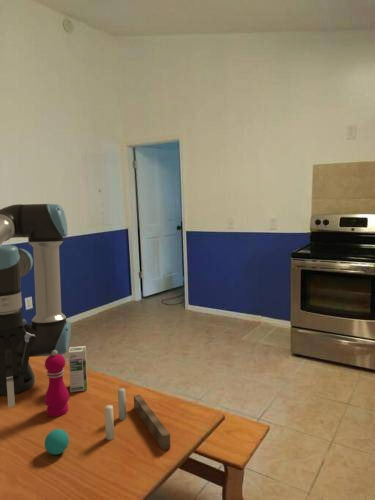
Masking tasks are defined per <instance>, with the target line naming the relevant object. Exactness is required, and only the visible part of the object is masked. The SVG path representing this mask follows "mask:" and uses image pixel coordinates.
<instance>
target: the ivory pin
mask: <svg viewBox="0 0 375 500" xmlns="http://www.w3.org/2000/svg"><path fill="white" fill-rule="evenodd" d="M104 420H105V422H104V423H105V439H106V440H107V441H112V440H114V438H115V427H114V424H115V423H114V405H112V404H107V405H105V406H104Z"/></svg>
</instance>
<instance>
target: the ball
mask: <svg viewBox="0 0 375 500" xmlns="http://www.w3.org/2000/svg"><path fill="white" fill-rule="evenodd" d="M69 442H70V438H69V435H68V433H67V432H66V431H65V430H64V429H62V428H57V429H53V430H51V431H50V432H49V433H47V435H46V437H45V438H44V448H45V450H46V452H47V453H49V454H50V455H54V456H56V455H61V454H62V453H64V452H65V450H66V449H67V448H68V446H69Z"/></svg>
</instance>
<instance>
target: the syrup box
mask: <svg viewBox="0 0 375 500" xmlns="http://www.w3.org/2000/svg"><path fill="white" fill-rule="evenodd" d="M68 368H69V369H68V370H69V371H68V372H69V390H70V391H69V392H70V393H75V392H76V393H77V392H82V391H85V392H87V391H88V373H87V369H88V368H87V348H86V345H81V346H79V345H78V346H68Z"/></svg>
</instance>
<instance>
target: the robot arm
mask: <svg viewBox="0 0 375 500" xmlns="http://www.w3.org/2000/svg"><path fill="white" fill-rule="evenodd" d="M67 223H68V222H67V218H66V214H65V210H64V209H63V207H62V206H61V205H59V204H55V203H54V204H53V203H34V204H33V203H32V204H29V203H28V204H27V203H26V204H25V203H24V204H20V203H19V204H12V205H9V206H5V207H3V208H1V209H0V396H7V406H8V407H7V408H9V409H10V408H14V407H15V406H16V401H15V400H16V399H15V398H16V397H15V395H16V394H19V393H22V392H24V391H27V390H29V389H30V388H32V387H33V386H34V385H35V383H36V376H35V373H34V371H33V368H32V366H31V363H30V358H33V357H35V358H37V357H49V356H50V355H52V351H53V350H56V351H57V352H58V354H60V355H62V356H63V355H65V354H66V353H67V352H68V351H69V347H70V341H71V334H72V323H71V321H68V320H67V316H66V315H65V314H64V313H63V312H62V296H61V295H62V294H61V293H62V292H61V271H60V270H61V269H60V268H61V267H60V264H61V263H60V245H62V244H63V242H64V238H65V237H67V236H68V224H67ZM12 238H13V239H14V238H16V239H17V238H23V239H26V238H27V240H28V244H29V245H30V246H32V251H33V256H32V254H31V253H30V252H29V251H28V250H26V249H23V248H18V247H17V246H16V245H13V244H10V245H9V244H7V245H6V244H3V243H5V242H7V241H9V240H10V239H12ZM32 267H33V271H34V273H33V274H34V275H33V276H34V295H35V296H34V298H35V300H34V301H35V315H34V317H32V319H31V323H27V320H26V319H25V318H24V317H23V316H24V315H23V313H24V312H23V310H22V309H21V308H23V299H22V289H21V288H22V287H21V285H22V284H21V283H22V282H21V278H23V277H25V276H27V275H28V274H29V272H30V271H31V270H32Z"/></svg>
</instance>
